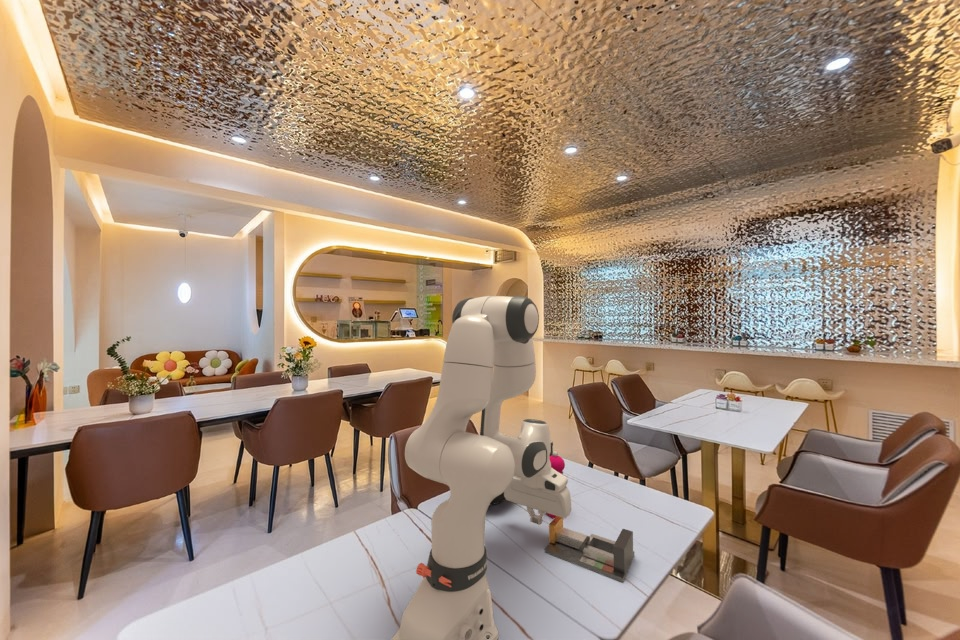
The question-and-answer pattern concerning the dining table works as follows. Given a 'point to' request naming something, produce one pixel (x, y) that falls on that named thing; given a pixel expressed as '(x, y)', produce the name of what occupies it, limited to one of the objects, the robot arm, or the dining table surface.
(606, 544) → the bench
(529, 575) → the dining table surface
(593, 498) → the dining table surface
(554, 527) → the plunger
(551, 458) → the pepper mill
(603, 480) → the dining table surface
